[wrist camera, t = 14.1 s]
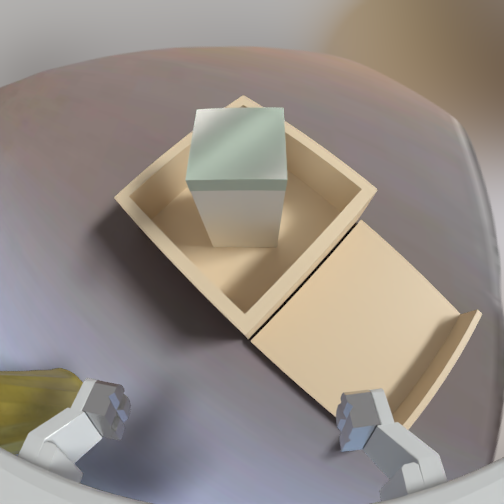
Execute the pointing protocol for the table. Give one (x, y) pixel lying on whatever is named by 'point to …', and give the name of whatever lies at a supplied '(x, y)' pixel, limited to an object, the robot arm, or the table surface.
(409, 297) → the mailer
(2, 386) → the vase
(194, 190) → the carton
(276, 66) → the table surface
